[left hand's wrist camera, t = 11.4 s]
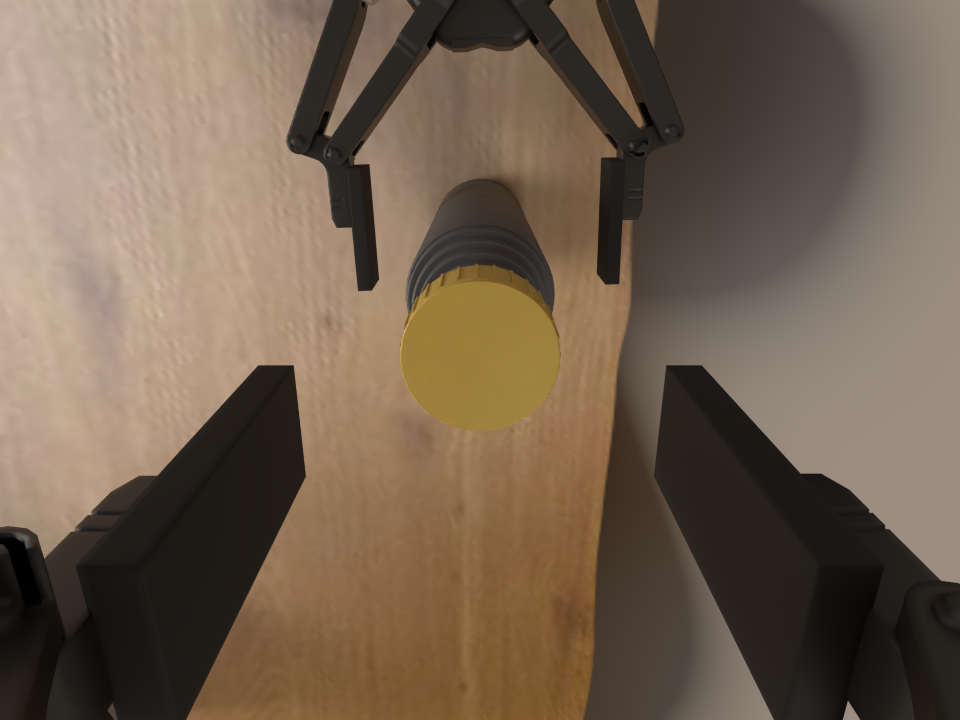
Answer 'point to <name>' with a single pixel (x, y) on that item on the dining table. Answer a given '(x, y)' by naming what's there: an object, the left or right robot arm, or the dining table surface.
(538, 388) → the cap
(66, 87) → the dining table surface
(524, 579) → the dining table surface
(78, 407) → the dining table surface
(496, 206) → the bottle
